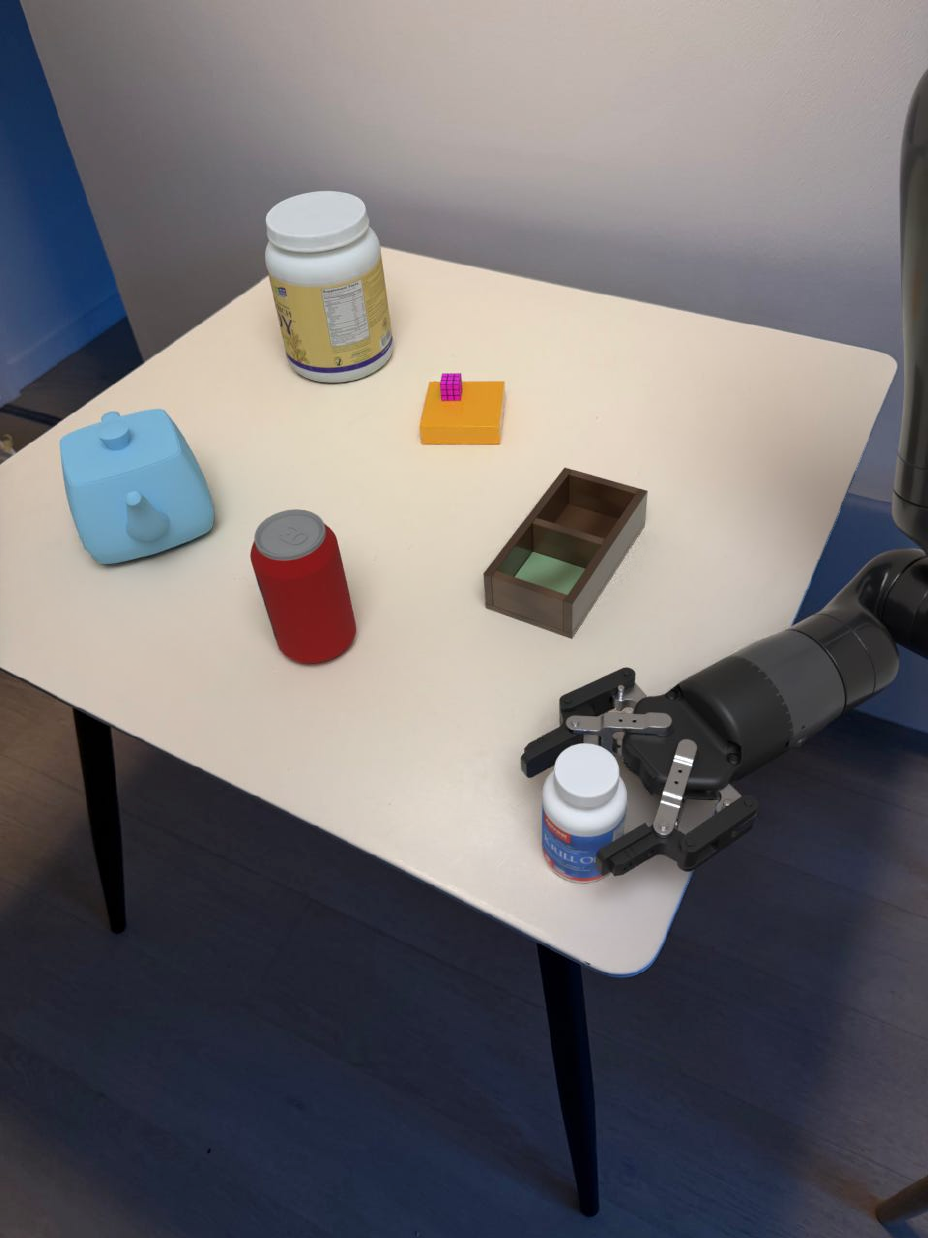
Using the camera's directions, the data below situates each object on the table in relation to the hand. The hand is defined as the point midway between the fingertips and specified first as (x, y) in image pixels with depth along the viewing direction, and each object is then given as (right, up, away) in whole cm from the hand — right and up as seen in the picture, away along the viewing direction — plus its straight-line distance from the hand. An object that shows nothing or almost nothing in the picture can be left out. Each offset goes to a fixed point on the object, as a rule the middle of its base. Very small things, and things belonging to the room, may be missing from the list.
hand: (559, 814), depth 63 cm
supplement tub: (-20, +42, +50) cm, 69 cm away
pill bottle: (+2, -4, +5) cm, 6 cm away
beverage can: (-18, +11, +20) cm, 29 cm away
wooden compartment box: (+3, +17, +24) cm, 30 cm away
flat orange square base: (-6, +33, +40) cm, 52 cm away
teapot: (-35, +20, +31) cm, 51 cm away
